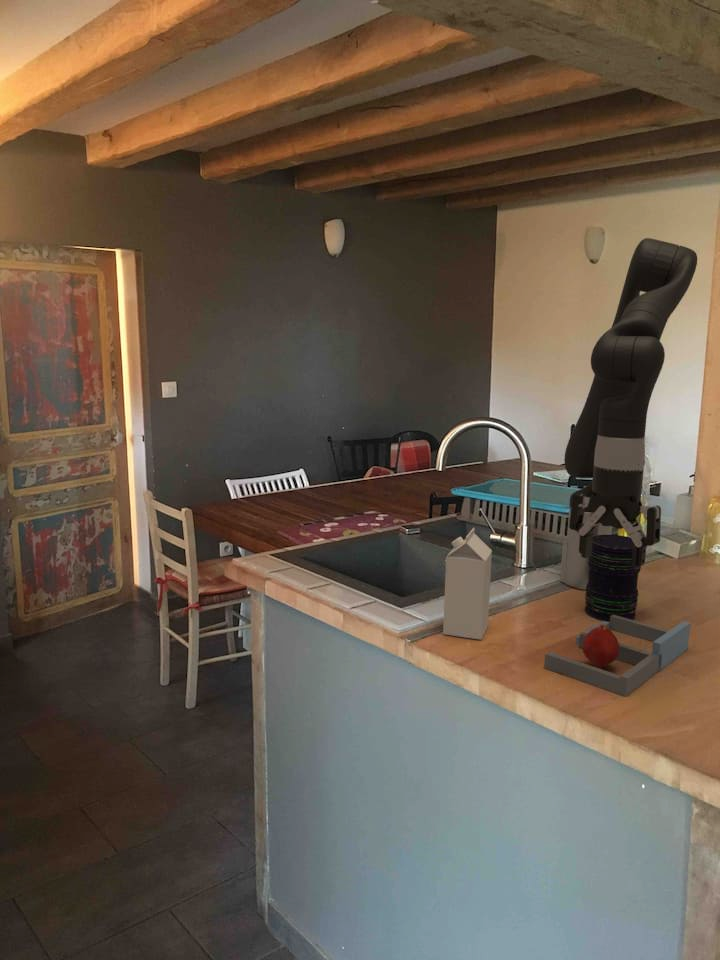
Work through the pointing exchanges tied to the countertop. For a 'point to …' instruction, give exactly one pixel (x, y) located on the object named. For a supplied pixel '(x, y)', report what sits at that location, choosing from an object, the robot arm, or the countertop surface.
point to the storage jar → (611, 578)
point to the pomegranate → (600, 646)
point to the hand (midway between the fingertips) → (610, 562)
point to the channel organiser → (627, 656)
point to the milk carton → (467, 588)
